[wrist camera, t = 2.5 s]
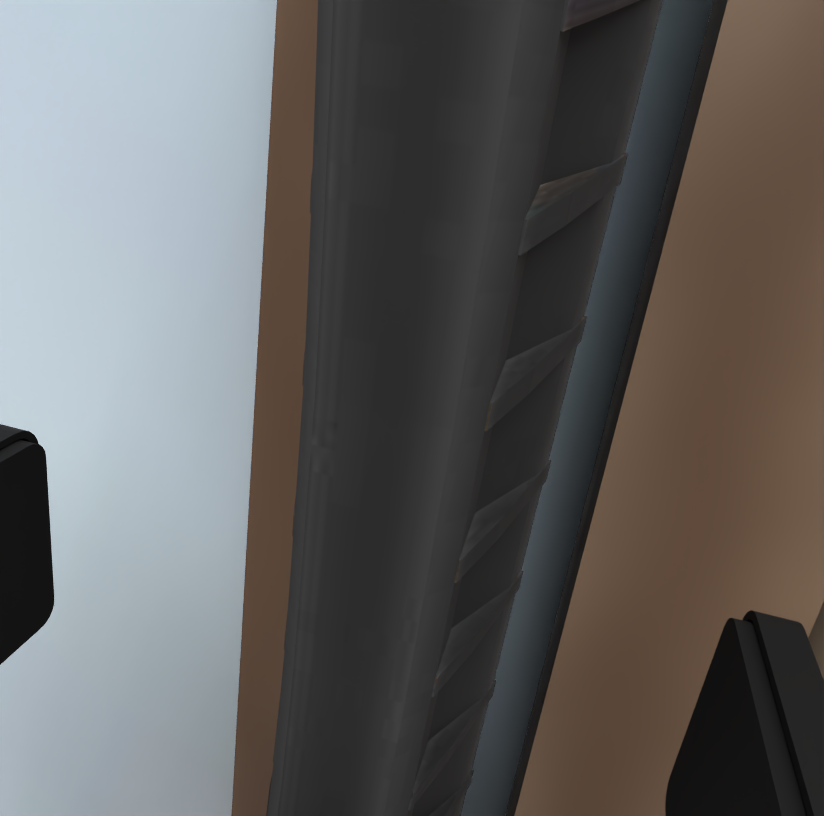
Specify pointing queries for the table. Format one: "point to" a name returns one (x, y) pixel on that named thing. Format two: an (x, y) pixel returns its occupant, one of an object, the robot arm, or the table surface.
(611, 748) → the rack
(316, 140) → the magazine
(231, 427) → the table surface
